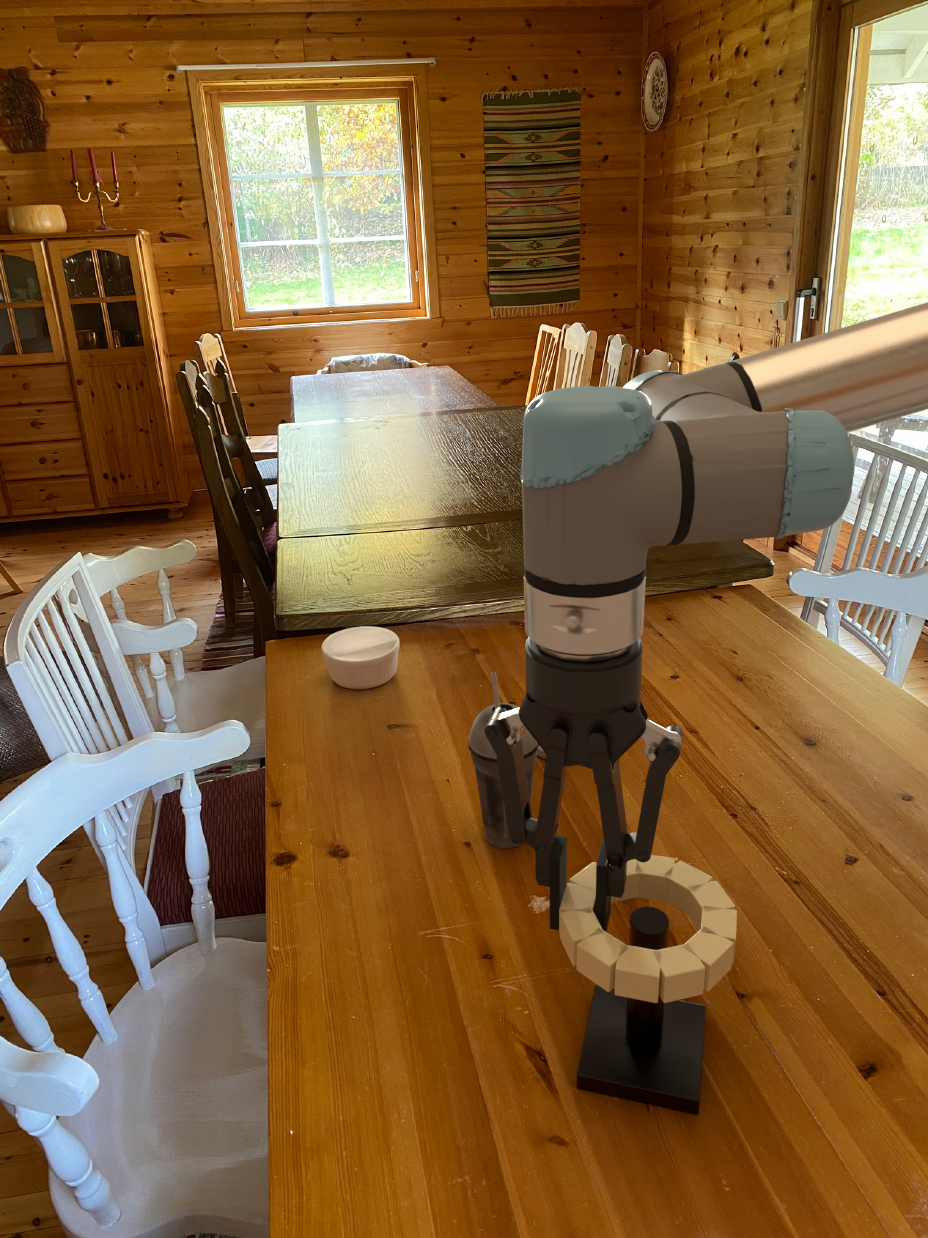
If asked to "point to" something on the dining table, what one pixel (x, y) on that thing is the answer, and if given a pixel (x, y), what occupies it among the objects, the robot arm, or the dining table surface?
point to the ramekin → (361, 656)
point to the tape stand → (644, 1037)
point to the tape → (645, 968)
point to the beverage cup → (496, 772)
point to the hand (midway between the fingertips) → (580, 920)
